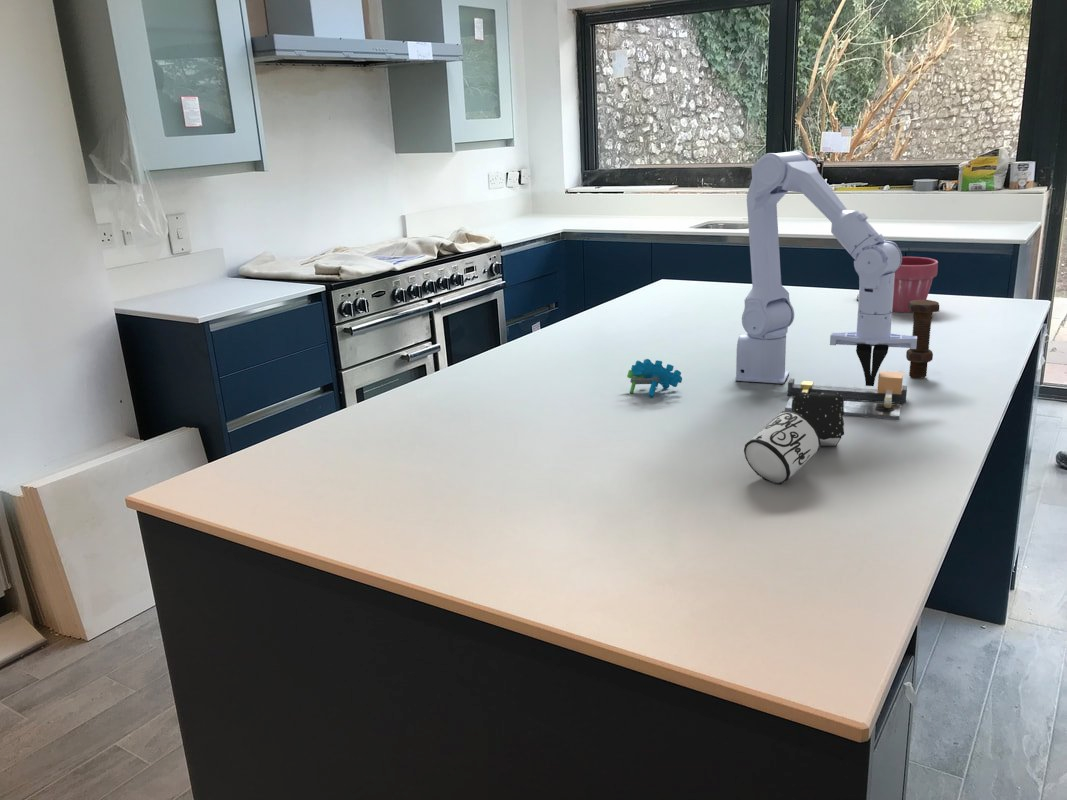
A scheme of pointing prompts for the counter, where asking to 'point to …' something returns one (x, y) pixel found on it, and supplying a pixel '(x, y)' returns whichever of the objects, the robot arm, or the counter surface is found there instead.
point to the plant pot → (913, 281)
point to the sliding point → (889, 385)
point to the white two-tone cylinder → (796, 435)
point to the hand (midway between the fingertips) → (869, 384)
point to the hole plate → (864, 409)
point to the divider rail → (846, 392)
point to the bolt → (921, 336)
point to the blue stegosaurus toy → (653, 375)
